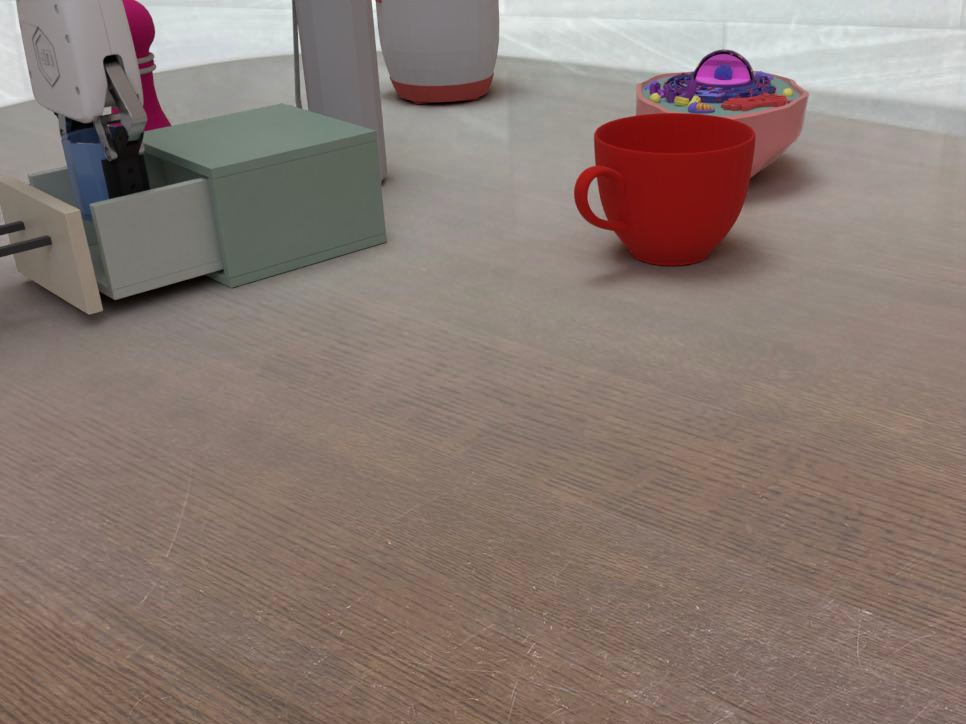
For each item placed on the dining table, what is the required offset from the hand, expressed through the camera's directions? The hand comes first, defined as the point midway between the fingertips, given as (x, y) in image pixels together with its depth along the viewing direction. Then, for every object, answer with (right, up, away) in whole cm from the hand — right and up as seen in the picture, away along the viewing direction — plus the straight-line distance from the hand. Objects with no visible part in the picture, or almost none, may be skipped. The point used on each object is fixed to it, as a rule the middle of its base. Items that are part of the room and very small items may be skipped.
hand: (113, 197), depth 95 cm
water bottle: (+14, +9, +27) cm, 32 cm away
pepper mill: (-4, +6, +22) cm, 24 cm away
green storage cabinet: (+10, -1, +11) cm, 15 cm away
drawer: (-1, -6, +2) cm, 6 cm away
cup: (0, -1, +1) cm, 1 cm away
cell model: (+51, +9, +26) cm, 58 cm away
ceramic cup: (+43, -4, +6) cm, 44 cm away
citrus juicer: (+21, +29, +58) cm, 68 cm away
